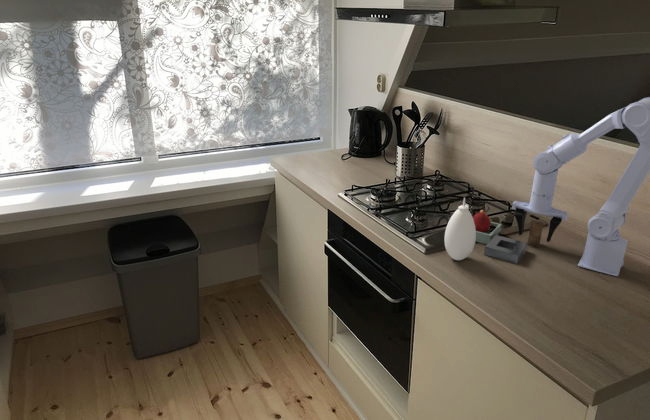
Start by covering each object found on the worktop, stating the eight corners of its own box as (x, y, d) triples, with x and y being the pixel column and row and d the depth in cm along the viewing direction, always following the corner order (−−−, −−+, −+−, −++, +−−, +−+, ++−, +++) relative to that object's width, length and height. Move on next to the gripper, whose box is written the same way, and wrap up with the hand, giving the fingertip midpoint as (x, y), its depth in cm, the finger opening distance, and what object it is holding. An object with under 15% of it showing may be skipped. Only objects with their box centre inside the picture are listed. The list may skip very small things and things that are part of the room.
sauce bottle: (459, 250, 144) (466, 190, 137) (478, 262, 137) (486, 199, 130) (437, 255, 140) (443, 194, 133) (455, 268, 134) (462, 204, 127)
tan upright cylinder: (540, 243, 147) (544, 221, 145) (537, 247, 145) (541, 225, 142) (529, 240, 149) (533, 219, 146) (526, 244, 147) (530, 222, 144)
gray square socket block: (526, 251, 143) (527, 243, 142) (517, 263, 136) (518, 255, 135) (494, 242, 148) (495, 234, 147) (484, 254, 141) (485, 246, 140)
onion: (489, 240, 149) (493, 215, 146) (469, 238, 151) (472, 213, 147) (488, 231, 155) (491, 207, 152) (468, 230, 156) (471, 205, 153)
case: (500, 233, 154) (501, 224, 153) (489, 245, 146) (490, 235, 145) (469, 225, 159) (470, 216, 158) (457, 236, 152) (458, 227, 150)
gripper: (573, 194, 140) (564, 238, 145) (520, 183, 148) (513, 226, 153) (568, 202, 135) (558, 247, 140) (512, 190, 142) (505, 234, 148)
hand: (534, 237), depth 146 cm, fingers open, 7 cm apart
